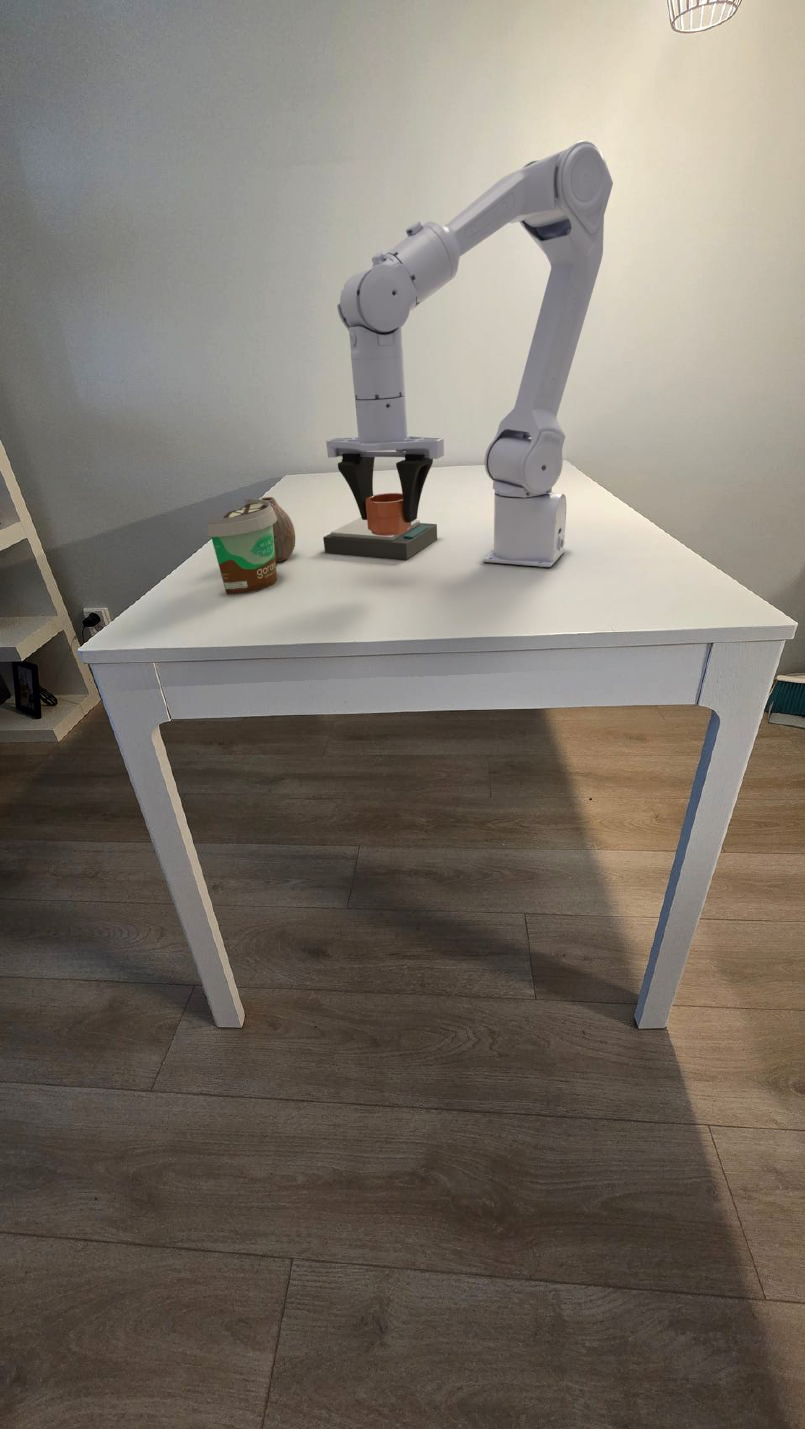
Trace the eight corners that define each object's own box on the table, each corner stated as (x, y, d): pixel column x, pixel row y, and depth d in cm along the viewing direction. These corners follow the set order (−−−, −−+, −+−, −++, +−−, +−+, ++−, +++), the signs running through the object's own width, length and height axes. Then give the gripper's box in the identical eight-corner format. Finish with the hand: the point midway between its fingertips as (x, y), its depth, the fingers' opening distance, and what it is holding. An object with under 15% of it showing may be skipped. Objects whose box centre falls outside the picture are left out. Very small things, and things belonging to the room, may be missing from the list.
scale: (437, 539, 101) (436, 520, 99) (407, 560, 92) (405, 539, 91) (360, 533, 106) (358, 515, 105) (324, 552, 98) (322, 533, 97)
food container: (265, 599, 82) (251, 519, 77) (221, 598, 83) (204, 520, 78) (298, 568, 92) (288, 496, 87) (258, 568, 93) (246, 497, 88)
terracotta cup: (418, 526, 81) (417, 493, 79) (399, 538, 77) (397, 503, 75) (381, 524, 83) (378, 492, 81) (360, 535, 79) (357, 502, 77)
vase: (243, 564, 96) (232, 503, 91) (268, 550, 101) (259, 493, 97) (283, 566, 93) (273, 505, 89) (306, 553, 99) (298, 494, 94)
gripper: (307, 403, 72) (322, 524, 79) (424, 399, 67) (429, 531, 74) (338, 396, 78) (350, 510, 85) (449, 393, 72) (452, 515, 79)
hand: (388, 519), depth 80 cm, fingers closed on terracotta cup, 5 cm apart
